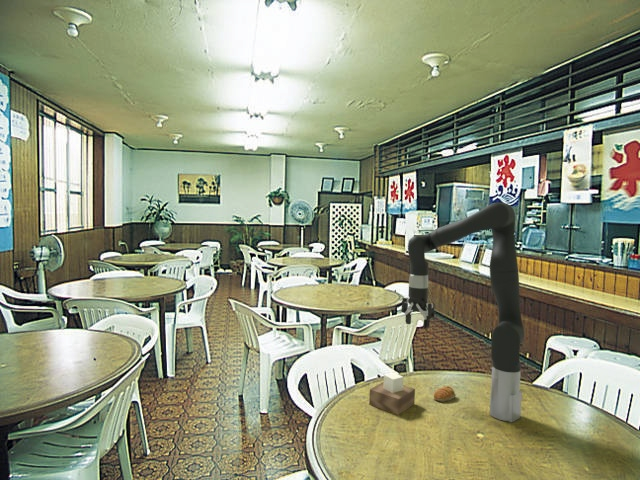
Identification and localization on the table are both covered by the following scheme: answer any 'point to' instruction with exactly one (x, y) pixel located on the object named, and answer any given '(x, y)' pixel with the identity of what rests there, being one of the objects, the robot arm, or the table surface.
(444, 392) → the pastry
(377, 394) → the walnut box
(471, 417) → the table surface
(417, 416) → the table surface
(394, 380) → the cube
